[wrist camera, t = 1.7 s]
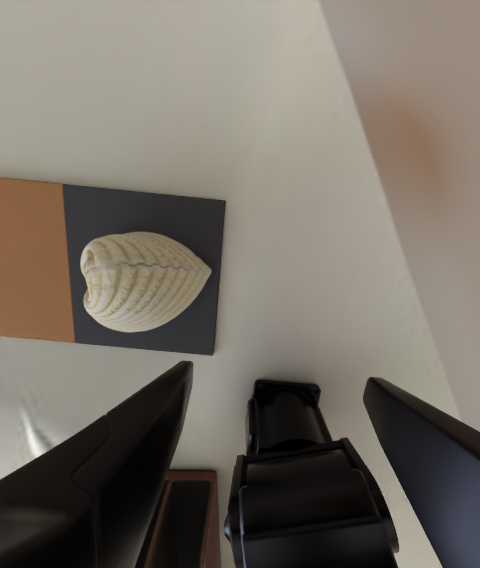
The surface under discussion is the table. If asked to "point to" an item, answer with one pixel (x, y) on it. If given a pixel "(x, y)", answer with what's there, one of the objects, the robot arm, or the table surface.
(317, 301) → the table surface
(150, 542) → the letter holder
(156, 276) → the seashell
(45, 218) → the desk pad
